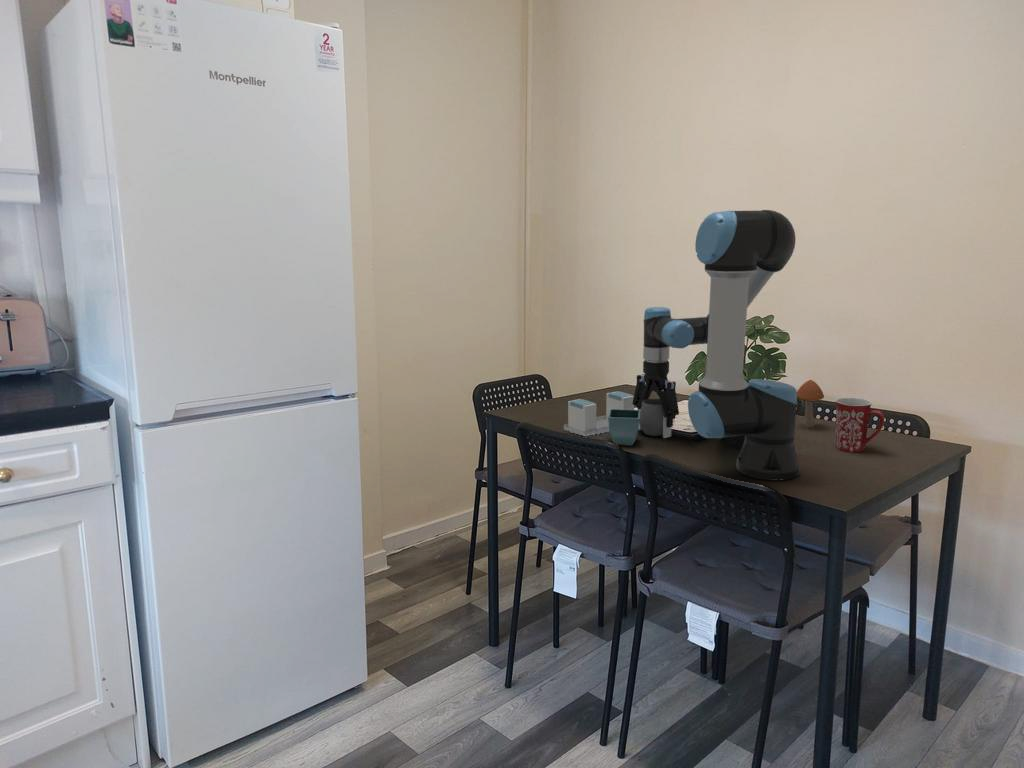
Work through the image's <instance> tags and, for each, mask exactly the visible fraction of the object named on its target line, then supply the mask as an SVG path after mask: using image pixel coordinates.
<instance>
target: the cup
mask: <svg viewBox="0 0 1024 768" xmlns="http://www.w3.org/2000/svg"><path fill="white" fill-rule="evenodd" d="M663 416H665V412H664V409H663V406H662V404H661V401H660V398H649V399H645V400H643V401H642V406H641V411H640V419H639V424H640V426H641V428H642V430H641V431H642V432H643V433H644V434H645V435H647V436H651V437H660V436H661V437H662V436H663Z"/></svg>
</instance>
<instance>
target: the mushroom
mask: <svg viewBox="0 0 1024 768" xmlns="http://www.w3.org/2000/svg"><path fill="white" fill-rule="evenodd" d="M796 391H797V399H799V400H803V401H804V406H805V407H804V408H805V410H804V411H805V412H804V418H803V426H804V428H807V429H810V428H811V429H813V428H814V426H815V424H816V423H815V416H814V412H813V402H814V401H821V400H822V399H824V398H825V395H824V392H823V390H822V389H821V387H820V386H819V384H818V383H816V381H814V380H812V379H808V380H807V381H805V382H804V383H803V384H801V385H800V387H799V388H798V390H796Z"/></svg>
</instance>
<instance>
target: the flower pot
mask: <svg viewBox="0 0 1024 768" xmlns="http://www.w3.org/2000/svg"><path fill="white" fill-rule="evenodd" d="M639 419H640V410H638V409H634V410H622V409H610V412H609V416H608V422H609V432H608V433H609V436H610V438H611V441H612V443H614V442H615V443H618V444H628V445H627V446H633V445H634V443H635V441H636V440H637V437H638V433H639V430H638V427H639Z"/></svg>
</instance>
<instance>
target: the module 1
mask: <svg viewBox="0 0 1024 768" xmlns="http://www.w3.org/2000/svg"><path fill="white" fill-rule="evenodd" d="M567 403H568V404H567V407H568V408H567V411H568V412H567V416H568V417H567V424H568V426H569V427H571V428H574V429H577V430H580V431H582V432H583V431H587V430H592V429H596V417H597V403H595V402H593V401H590V400H586V399H582V398H578V399H574V400H569V401H567Z"/></svg>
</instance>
